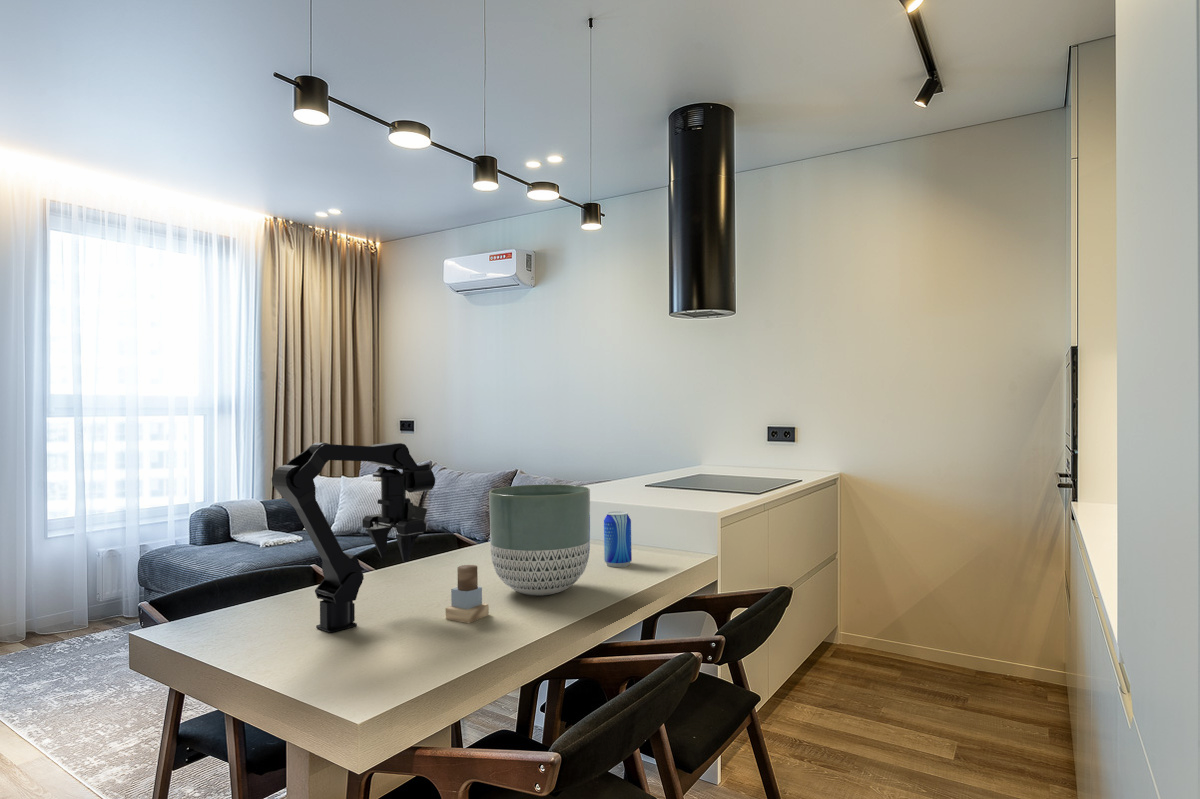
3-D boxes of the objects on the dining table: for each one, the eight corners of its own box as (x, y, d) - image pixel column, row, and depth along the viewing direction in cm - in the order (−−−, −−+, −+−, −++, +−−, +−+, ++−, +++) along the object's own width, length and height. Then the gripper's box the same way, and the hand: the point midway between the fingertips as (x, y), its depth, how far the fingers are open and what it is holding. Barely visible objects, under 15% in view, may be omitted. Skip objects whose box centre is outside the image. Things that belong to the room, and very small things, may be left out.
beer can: (601, 563, 214) (600, 511, 214) (626, 560, 216) (625, 510, 217) (609, 568, 206) (608, 515, 206) (635, 566, 208) (634, 513, 209)
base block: (469, 625, 155) (469, 611, 155) (445, 621, 158) (445, 608, 158) (488, 616, 161) (488, 604, 161) (465, 613, 164) (465, 600, 164)
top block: (466, 609, 157) (466, 592, 157) (451, 606, 159) (451, 589, 160) (482, 604, 161) (482, 587, 161) (466, 601, 164) (466, 584, 164)
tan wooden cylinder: (465, 591, 157) (465, 570, 157) (453, 588, 160) (453, 567, 160) (481, 588, 160) (481, 566, 160) (469, 585, 163) (469, 563, 163)
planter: (607, 584, 187) (606, 486, 188) (561, 610, 163) (560, 497, 164) (524, 576, 198) (522, 483, 199) (469, 599, 174) (468, 493, 175)
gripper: (444, 493, 165) (445, 558, 165) (399, 489, 177) (400, 549, 177) (405, 498, 157) (406, 567, 157) (360, 493, 169) (361, 557, 168)
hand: (394, 559), depth 165 cm, fingers open, 9 cm apart
